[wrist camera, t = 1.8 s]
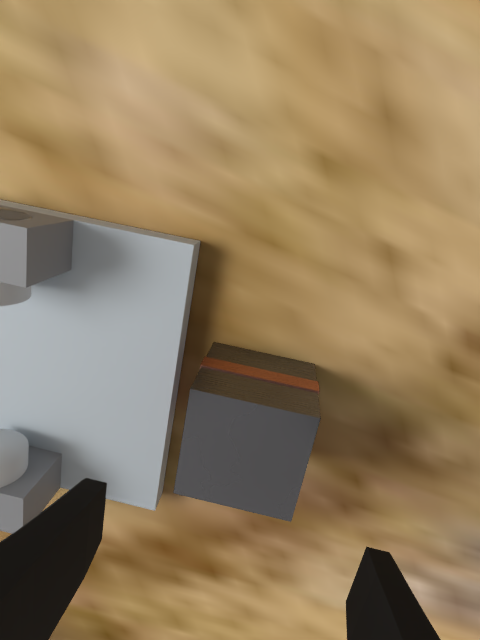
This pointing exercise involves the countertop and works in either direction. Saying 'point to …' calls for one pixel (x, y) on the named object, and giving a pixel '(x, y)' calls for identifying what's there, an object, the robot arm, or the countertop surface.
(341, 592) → the countertop surface
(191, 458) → the block
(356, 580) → the robot arm
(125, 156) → the countertop surface
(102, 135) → the countertop surface
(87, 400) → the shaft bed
